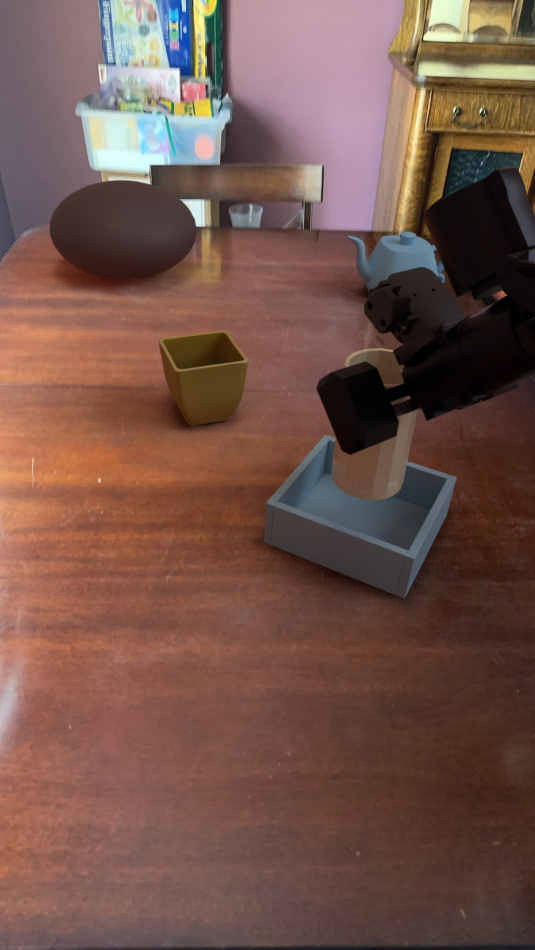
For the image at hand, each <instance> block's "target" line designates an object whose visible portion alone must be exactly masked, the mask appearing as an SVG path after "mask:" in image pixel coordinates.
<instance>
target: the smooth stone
mask: <svg viewBox="0 0 535 950" xmlns="http://www.w3.org/2000/svg"><path fill="white" fill-rule="evenodd" d="M197 229H198V228H197V222H196V219H195V217H194V216H193V213H192V211H191V210H190V208H189V207H188V205H186V204H185V202H184V201H183V200H181V198H179V197H177V196H176V195H175V194H174V193H172V192H170V191H169V190H166V189H164V188H162V187H159V186H157V185H155V184H151V183H147V182H143V181H137V180H127V179H115V180H113V179H112V180H106V181H101V182H100V181H99V182H96V183H92V184H88V185H85V186H84V187H81V188H79V189H77V190H75V191H73V192H71V193H70V194H69V195H68V196H66V197H65V198H64V199H63V200H61V201H60V202H59V204H58V205H57V206H56V208H55V209H54V210H53V213H52V214H51V217H50V220H49V236H50V239H51V242H52V245H53V246H54V248H55V249H56V251H57V252H58V253H59V254H60V256H61V257H62V258H63V259H64V260H65V261H66V262H68V263H69V264H71V265H72V266H73V267H75V268H77V269H79V270H81V271H83V272H85V273H88V274H90V275H94V276H98V277H102V278H107V279H113V280H137V279H145V278H148V277H152V276H155V275H159V274H160V273H164V272H167V271H168V270H171V269H172V268H174V267H175V266H177V265H178V264H180V263H181V262H182V261H184V259H185V258H186V257H187V256H188V255H189V254H190V252H191V251H192V249H193V247H194V245H195V243H196V240H197V233H198V232H197V231H198V230H197Z"/></svg>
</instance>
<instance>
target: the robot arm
mask: <svg viewBox="0 0 535 950" xmlns="http://www.w3.org/2000/svg"><path fill="white" fill-rule="evenodd" d="M422 219H423V222H424V225H425V226H426V228H427V231H428V234H429V236H430V238H431V240H432V243H433V245H435V248H436V253H437V255H438V257H439V259H440V260H441V262H442V264H443V267H444V268H443V270H444V272H445V273H446V276H447V278H448V281H449V284H450V285H451V287H452V290H453V292H454V293H455V295H453V293H452V292H451V291H450V290H449V289H448V287H447V286H446V285H445V283H443V282H442V281H441V280H440V277H438V276H437V275H436V274H435V273H434V272H433V271H432V270H430V269H428V268H425V267H418V268H414V269H410V270H406V271H401V272H397V273H393V274H391V275H390V276H389V277H388V279H387V280H383V281H380V282H379V284H378V285H377V286H376V287H375V288H372V289H369V291H368V290H367V299H366V301H365V302H364V304H363V312H364V315H365V317H366V318H367V319H368V321H369V322H370V323H371V324H372V326H373V327H374V328H375V330H376V331H377V333H378V334H383V335H384V334H388V333H390V334H391V335H392V336H393V337H394V338H395V339H396V341H397V342H399V343H400V344H401V345H400V346H398V347H396V348H395V349H392V350H393V353H394V355H395V358H396V360H397V363H398V365H404V368H402V369H400V373H401V375H402V378H403V381H404V383H403V384H400V385H397V386H394V387H392V388H389V389H385V386H384V384H383V381H382V379H381V377H380V374H379V372H378V369H377V368H376V367H374V366H373V365H371V364H370V363H368V362H366V361H364V362H361V363H358V364H355V365H352V366H349V367H345V368H344V367H342V368H339V369H336V370H334V371H333V370H332V371H331V372H329V373H328V374H326V375H325V376H323V377H322V378H320V379H318V382H317V384H316V388H315V390H316V392H317V394H318V396H319V399H320V401H321V404H322V406H323V409H324V411H325V413H326V416H327V419H328V421H329V423H330V427H331V428H332V431H333V433H334V435H335V436H334V437H335V438H337V441H338V443H339V446H340V448H341V451H343V452H345V453H347V454H349V455H352V454H354V453H357V452H359V451H362V450H364V449H367V448H369V447H372V446H374V445H377V444H379V443H381V442H384V441H386V440H389V439H391V438H394V437H396V436H397V431H398V426H399V420H398V417H400V416H403V415H405V414H408V413H410V412H413V411H416V410H418V411H419V410H421V411H422V413H423V416H424V418H425V420H426V422H428V421H430V420H433V419H435V418H438V417H440V416H443V415H445V414H449V413H451V412H453V411H459V410H465V409H466V408H468V407H472V406H473V405H474V406H475V405H476V404H478V403H481V402H482V403H484V402H487V401H488V400H489V401H490V400H491V399H494V398H496V397H499V396H502V395H503V394H507V393H509V392H511V391H513V390H515V389H518V388H519V385H520V383H522V382H524V381H526V380H529V379H531V378H533V377H535V213H534V210H533V208H532V206H531V203H530V201H529V198H528V194H527V191H526V185H525V182H524V179H523V177H522V175H521V172H520V169H519V167H518V166H508V167H501V168H497V169H494V170H493V171H491V172H490V173H489V174H487V176H485V177H484V178H481V179H479V180H477V181H474V182H472V183H470V184H468V185H466V186H463V187H462V188H460V189H458V190H457V191H454V192H453V193H452V194H450V195H446V196H442V197H440V198H438V199H436V201H434V203H432V204H431V205H430V206H428V208H427V209H426V210H425V211H424V213H423V215H422ZM440 260H439V261H440ZM470 292H471V296H472V299H473V301H479V300H483V299H486V298H488V297H491V296H493V295H496V294H498V293H501V292H502V293H504V296H502V297H501V298H499V299H498V300H496V301H494V302H493V303H491V304H489V305H488V306H486V307H484V308H482V309H480V310H479V311H477V312H475V313H472V314H469V315H468V316H466V314H465V313H464V312H463V310H462V308H461V307H460V303H459V301H458V299H457V298H459V297H462V296H464V295H467V294H469V293H470ZM455 296H456V297H455ZM408 396H410V398H411V399H409V400H406V401H403V402H401V403H398V404H395V405H392V402H394V401H397V400H400V399H403V398H405V397H408Z"/></svg>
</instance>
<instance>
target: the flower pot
mask: <svg viewBox="0 0 535 950" xmlns="http://www.w3.org/2000/svg"><path fill="white" fill-rule="evenodd" d="M158 346H159V351H160V357H161V362H162V368H163V373H164V377H165V381H166V384H167V386H168V389H169V391H170V393H171V395H172V398H173V399H174V401H175V404H176V405H177V407H178V409H179V410H180V412H181V414H182V417H183V418H184V420H185V422H186V423H187V424H188V425H189V426H191V427H195V426H200V425H201V426H202V425H205V424H213V423H217V422H225V421H228V420H229V419H230V418H231V417H232V416H233V415H234V414H235V412H236V411H237V410H238V408H239V406H240V404H241V402H242V400H243V396H244V392H245V386H246V379H247V372H248V366H249V359H248V357H247V356H246V355H245V354H244V352H243V351H242V350H241V349H240V347H239V346H238V345H237V344H236V342H235V340H234V339H233V337H232V336H231V334H230V333H229V332H228V331H226V330H215V331H208V332H200V333H193V334H185V335H184V334H183V335H177V336H168V337H161V338H159V339H158Z"/></svg>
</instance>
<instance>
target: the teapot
mask: <svg viewBox="0 0 535 950" xmlns="http://www.w3.org/2000/svg"><path fill="white" fill-rule="evenodd" d="M347 237H348V239H350V241H352V242H353V243H354V247H355V249H356V250H355V251H356V259H355V260H356V262H355V263H356V271H357V273H358V275H359V276H360V277H361V279H363V280H364V285H365V287H366V289H367V292H368V291H369V289H372V288H375V287H376V286H377V285H378V284H379V282H380V281H383V280H387V279H388V277H389V276H390V275H391V274H393V273H397V272H401V271H406V270H410V269H414V268H418V267H425V268H428V269H430V270H432V271H433V272H434V273H435V274H436V275H437V276H438V278H439V279H440V280H441V281H442V282H443V284H445V279H446V278H445V275H444V274H443V273H442V271H443V270H444V267H443V264H442V262H441V260H439V263H438V264H437V260H436V255H435V251H436V252H437V250H436V248H435V245H434V244H432V245H431V243H430V242H429V241H427V240H426V239H424V238H422V237H420V236H417V234H416V233H414V232H411V231H402V232H400V233H399V234H398V235H397V234H394V235H393V234H392V235H391V234H390V235H383V236H382V237H380V239H379V240H378V241H377V243H376V245H375V247H374V248H373V251H372V252H371V254H370V256H369V258H368V261H367V257H366V246H365V243H364V240H362V239H361V238H360V237H356V236H352V235H347Z"/></svg>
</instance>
